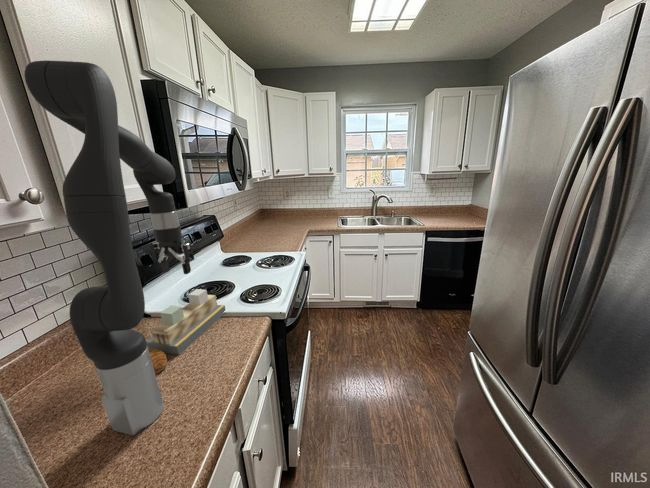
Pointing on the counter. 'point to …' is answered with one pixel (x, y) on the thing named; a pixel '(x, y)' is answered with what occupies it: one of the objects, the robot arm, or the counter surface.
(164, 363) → the pastry
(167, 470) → the counter surface
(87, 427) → the counter surface
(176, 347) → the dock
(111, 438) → the counter surface
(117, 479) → the counter surface
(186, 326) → the beige blocky bar
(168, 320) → the crate sage
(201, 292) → the crate grey
